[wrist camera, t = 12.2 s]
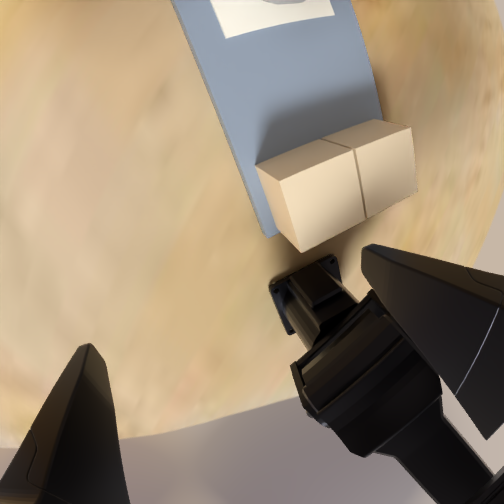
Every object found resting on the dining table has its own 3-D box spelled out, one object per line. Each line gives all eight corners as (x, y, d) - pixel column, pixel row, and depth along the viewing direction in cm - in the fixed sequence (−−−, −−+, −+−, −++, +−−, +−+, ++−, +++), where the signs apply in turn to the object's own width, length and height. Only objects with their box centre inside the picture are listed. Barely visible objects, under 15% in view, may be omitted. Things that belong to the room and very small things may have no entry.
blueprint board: (384, 174, 25) (425, 193, 21) (262, 232, 24) (290, 265, 19) (312, -68, 13) (349, -91, 9) (152, -44, 12) (156, -80, 7)
